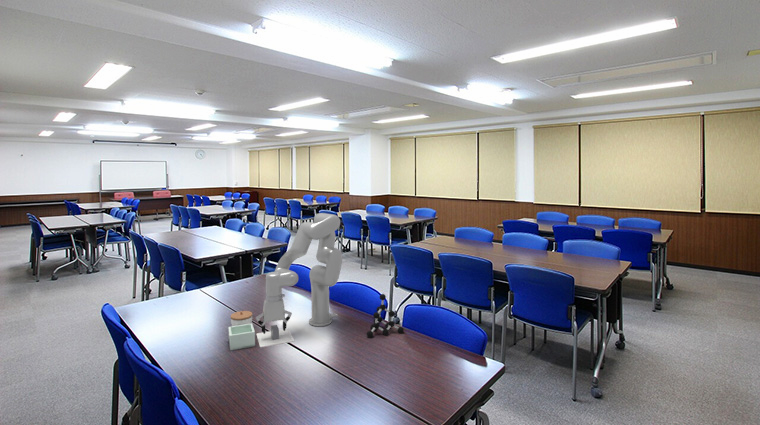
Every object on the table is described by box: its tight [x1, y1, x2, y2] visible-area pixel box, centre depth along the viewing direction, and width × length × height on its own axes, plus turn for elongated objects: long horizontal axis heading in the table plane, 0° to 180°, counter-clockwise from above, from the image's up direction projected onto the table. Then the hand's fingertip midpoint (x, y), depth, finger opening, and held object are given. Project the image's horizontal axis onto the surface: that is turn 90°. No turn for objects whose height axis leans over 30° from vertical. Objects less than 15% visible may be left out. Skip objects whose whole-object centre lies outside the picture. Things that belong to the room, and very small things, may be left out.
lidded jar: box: [230, 310, 253, 326], centre depth 195 cm, size 11×11×9 cm
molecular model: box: [366, 293, 405, 338], centre depth 191 cm, size 18×20×20 cm
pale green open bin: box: [228, 322, 256, 351], centre depth 178 cm, size 11×11×7 cm
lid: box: [255, 324, 295, 348], centre depth 185 cm, size 16×16×6 cm
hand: (274, 331), depth 184 cm, fingers open, 9 cm apart
